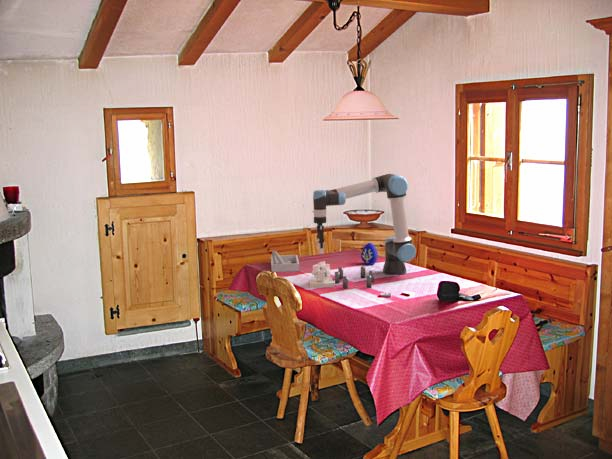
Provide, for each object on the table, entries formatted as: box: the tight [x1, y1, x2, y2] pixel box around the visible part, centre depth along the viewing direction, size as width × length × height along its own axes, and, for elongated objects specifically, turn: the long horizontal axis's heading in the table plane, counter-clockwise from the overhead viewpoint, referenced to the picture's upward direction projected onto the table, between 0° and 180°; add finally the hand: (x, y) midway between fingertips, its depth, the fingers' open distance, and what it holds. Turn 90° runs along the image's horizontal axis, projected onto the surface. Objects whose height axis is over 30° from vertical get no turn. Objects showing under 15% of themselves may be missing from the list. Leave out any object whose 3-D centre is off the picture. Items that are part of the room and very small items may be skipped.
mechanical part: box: [311, 260, 332, 282], centre depth 418 cm, size 11×12×12 cm
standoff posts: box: [334, 265, 375, 290], centre depth 422 cm, size 24×28×7 cm
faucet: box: [271, 250, 293, 264], centre depth 471 cm, size 14×11×20 cm
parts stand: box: [308, 277, 335, 289], centre depth 419 cm, size 14×14×2 cm
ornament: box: [360, 242, 379, 266], centre depth 472 cm, size 11×9×15 cm
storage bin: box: [270, 254, 300, 273], centre depth 471 cm, size 18×29×5 cm, turn 3°
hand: (320, 251), depth 416 cm, fingers open, 13 cm apart
